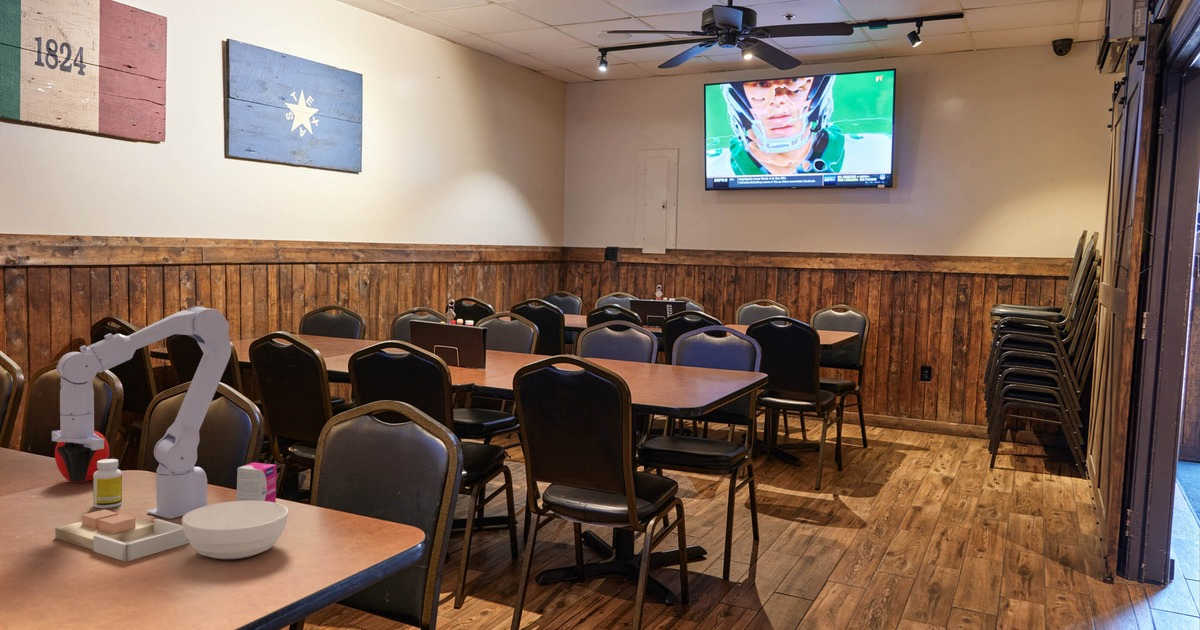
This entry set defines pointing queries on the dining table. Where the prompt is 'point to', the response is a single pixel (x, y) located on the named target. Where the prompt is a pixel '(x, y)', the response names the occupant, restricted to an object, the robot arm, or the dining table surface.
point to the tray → (142, 542)
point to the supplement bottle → (107, 484)
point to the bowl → (234, 528)
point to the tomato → (98, 455)
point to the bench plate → (100, 533)
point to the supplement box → (256, 482)
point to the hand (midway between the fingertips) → (77, 480)
